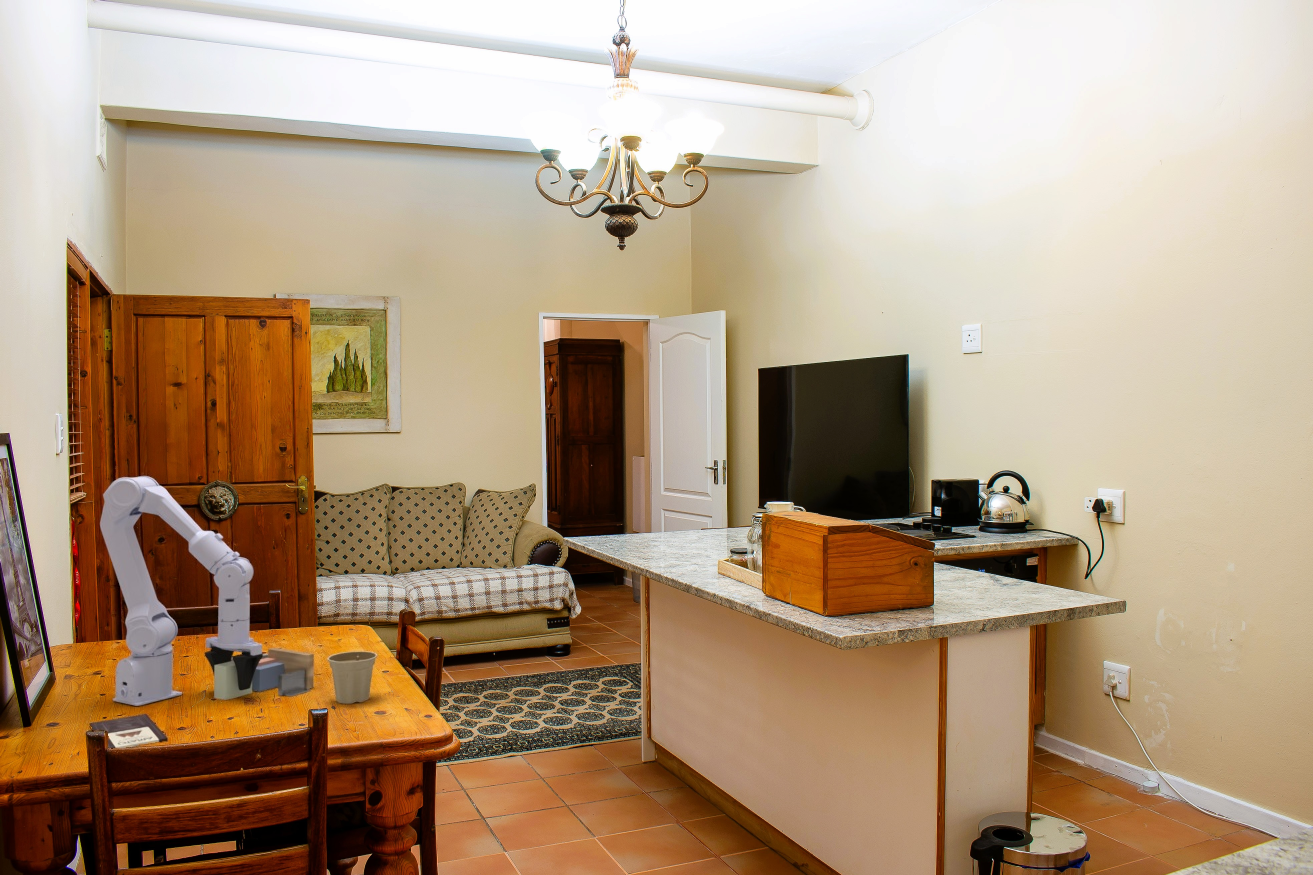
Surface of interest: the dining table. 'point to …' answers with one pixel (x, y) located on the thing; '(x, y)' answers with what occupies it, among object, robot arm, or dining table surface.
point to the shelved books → (267, 674)
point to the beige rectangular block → (227, 682)
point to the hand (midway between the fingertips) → (233, 686)
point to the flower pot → (352, 675)
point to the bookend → (292, 683)
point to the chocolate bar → (130, 731)
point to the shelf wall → (295, 662)
